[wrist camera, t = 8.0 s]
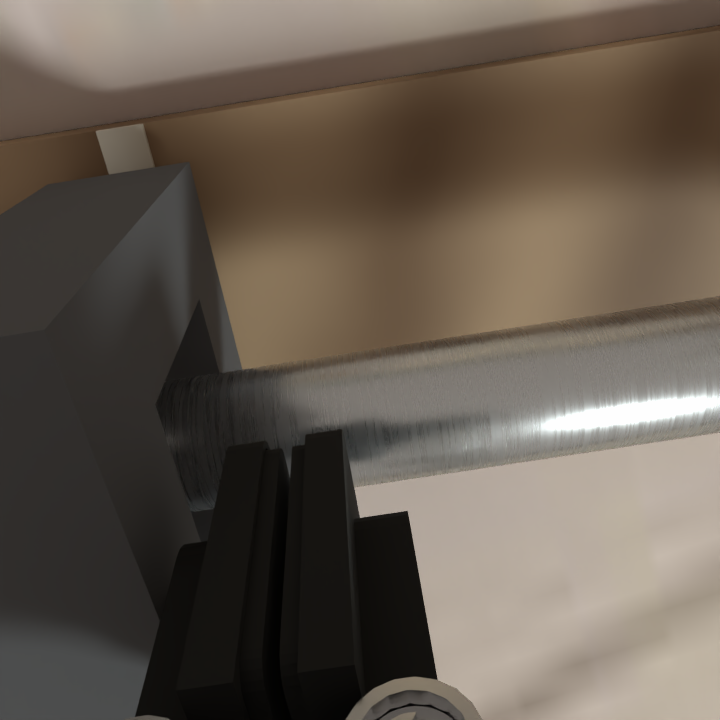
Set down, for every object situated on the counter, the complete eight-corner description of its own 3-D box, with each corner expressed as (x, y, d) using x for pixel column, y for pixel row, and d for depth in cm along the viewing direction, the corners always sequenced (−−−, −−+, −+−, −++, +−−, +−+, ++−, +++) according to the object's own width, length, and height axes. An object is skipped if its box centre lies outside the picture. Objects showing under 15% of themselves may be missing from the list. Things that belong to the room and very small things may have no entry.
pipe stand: (1042, -27, 15) (1579, -55, 9) (932, 367, 20) (1229, 540, 13) (-234, 179, 16) (-619, 296, 9) (-51, 516, 20) (-223, 751, 14)
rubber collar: (189, 161, 14) (44, 329, 7) (271, 482, 18) (237, 816, 11) (47, 184, 14) (-252, 376, 7) (159, 499, 18) (47, 843, 11)
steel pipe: (1163, 193, 13) (1361, 237, 10) (1110, 325, 14) (1276, 391, 11) (-255, 413, 13) (-383, 503, 11) (-184, 521, 14) (-285, 624, 12)
